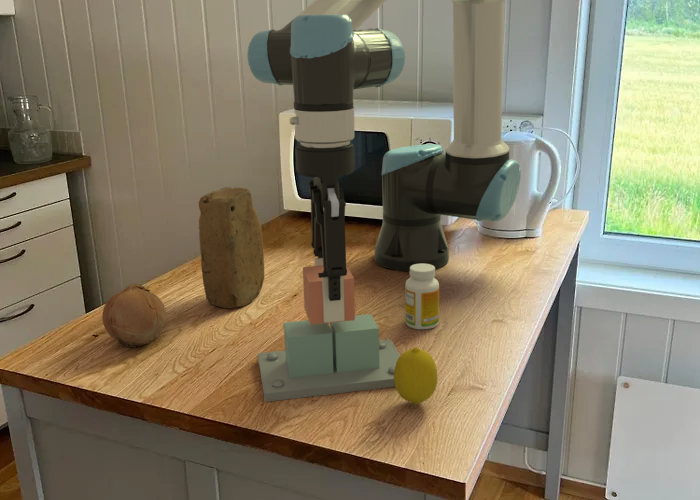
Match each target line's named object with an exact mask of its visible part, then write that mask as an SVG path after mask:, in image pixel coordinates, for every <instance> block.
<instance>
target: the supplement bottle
mask: <svg viewBox="0 0 700 500" xmlns="http://www.w3.org/2000/svg"><path fill="white" fill-rule="evenodd" d="M435 277H436V268H435V267H434V266H433V265H430V264H423V263H421V264H414V265H412V266H410V271H409V278H408V279H406V281H405V285H404V287H405V288H404V289H405V290H404V291H405V294H404V295H405V299H404V301H405V303H404V304H405V305H404V307H405V309H404V311H405V315H404V316H405V317H404V318H405V324H406V326H408V327H409V328H410V329H414V330H430V329H433V328H436V327H437V325H438V324H439V323H440V322H439V319H440V318H439V317H440V312H439V311H440V284H439V281H438V280H437V279H436V278H435Z"/></svg>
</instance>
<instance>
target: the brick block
mask: <svg viewBox="0 0 700 500" xmlns="http://www.w3.org/2000/svg"><path fill="white" fill-rule="evenodd" d="M346 269H347V275H346V276H343V278H344V321H352V320H355V316H356V315H355V314H356V309H355V307H356V304H355V300H356V299H355V278H354V275H353V274H352V272H351V271H350V269H349V267H348V265H347V264H346ZM323 271H324V268H323V265H322V266H315V265H314V266H313V265H312V266H303V267H302V281H303V282H302V283H303V304H304V305H303V306H304V310H305V313H306V316H307V318H308V319H307V320H309V322H310V324H311V325H312V324H322V323H324V321H323V291H322V278H319V276H318V273H323ZM336 322H342V321H336ZM326 323H328V324H330V323H332V322H326Z"/></svg>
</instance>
